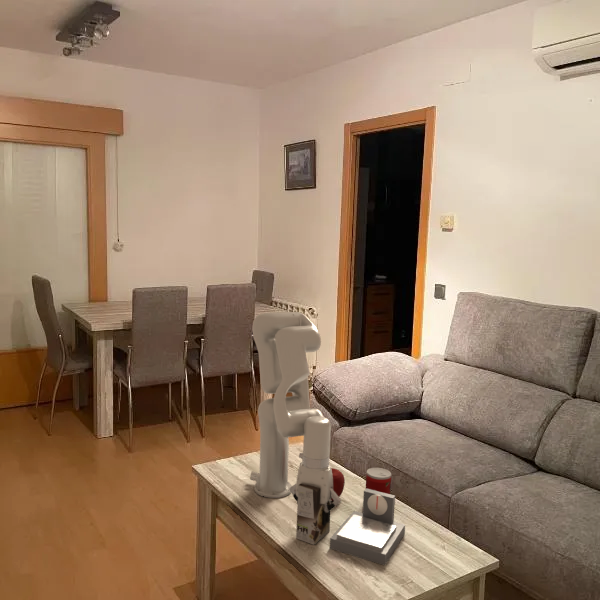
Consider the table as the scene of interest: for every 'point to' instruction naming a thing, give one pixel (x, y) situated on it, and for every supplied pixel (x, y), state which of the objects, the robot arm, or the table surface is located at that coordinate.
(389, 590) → the table surface
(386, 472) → the canned food
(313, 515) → the coffee box
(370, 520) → the scale pan
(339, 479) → the apple
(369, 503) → the base
